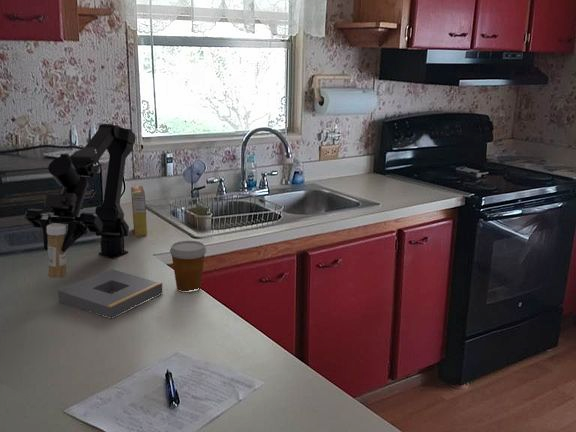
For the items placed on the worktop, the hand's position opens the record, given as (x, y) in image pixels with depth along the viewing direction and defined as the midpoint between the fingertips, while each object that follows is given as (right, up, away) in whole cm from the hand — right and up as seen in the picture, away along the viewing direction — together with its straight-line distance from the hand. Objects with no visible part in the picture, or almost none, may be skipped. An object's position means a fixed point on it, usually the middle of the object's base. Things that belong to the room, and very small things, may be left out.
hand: (54, 250), depth 151 cm
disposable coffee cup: (+32, -11, +12) cm, 35 cm away
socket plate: (+13, -12, +4) cm, 19 cm away
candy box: (+7, +3, +57) cm, 58 cm away
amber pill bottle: (0, -7, +3) cm, 8 cm away
